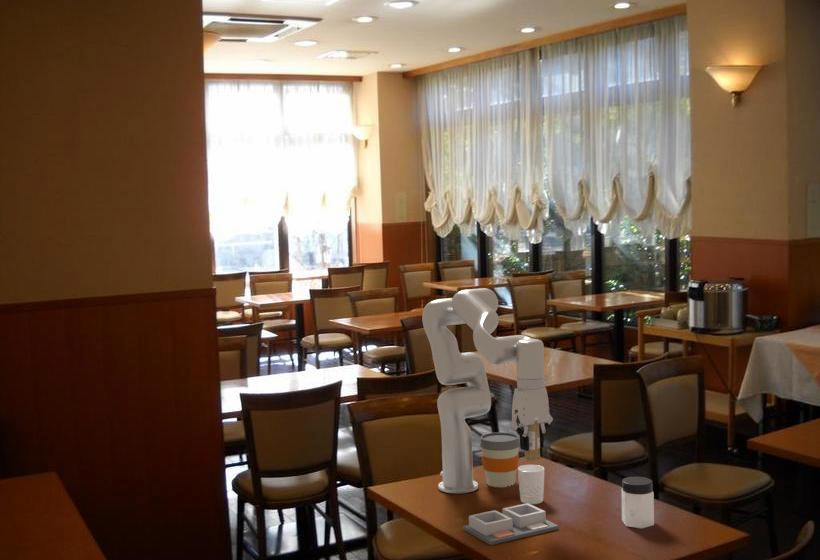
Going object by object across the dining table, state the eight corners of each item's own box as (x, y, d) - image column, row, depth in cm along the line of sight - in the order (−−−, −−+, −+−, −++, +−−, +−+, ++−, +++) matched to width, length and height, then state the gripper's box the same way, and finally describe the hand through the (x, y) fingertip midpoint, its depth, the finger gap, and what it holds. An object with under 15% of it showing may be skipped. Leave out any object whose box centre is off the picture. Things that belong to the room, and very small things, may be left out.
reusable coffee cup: (527, 480, 302) (525, 434, 300) (509, 491, 291) (508, 443, 290) (492, 475, 308) (490, 430, 307) (474, 485, 298) (472, 439, 296)
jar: (617, 525, 257) (616, 482, 256) (626, 516, 264) (625, 474, 263) (650, 530, 253) (649, 486, 252) (657, 520, 260) (657, 478, 259)
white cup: (544, 496, 285) (543, 464, 284) (545, 505, 277) (544, 471, 276) (518, 496, 285) (517, 464, 284) (518, 505, 277) (518, 472, 277)
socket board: (463, 529, 258) (462, 515, 258) (529, 514, 268) (528, 501, 268) (490, 545, 246) (490, 530, 246) (558, 529, 256) (558, 514, 256)
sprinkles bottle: (543, 459, 261) (543, 412, 260) (531, 462, 258) (531, 414, 257) (532, 456, 265) (531, 409, 264) (520, 459, 262) (519, 411, 261)
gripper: (546, 378, 267) (547, 440, 269) (497, 385, 259) (499, 450, 261) (563, 382, 261) (564, 446, 262) (513, 389, 252) (515, 456, 254)
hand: (531, 447), depth 261 cm, fingers closed on sprinkles bottle, 4 cm apart
